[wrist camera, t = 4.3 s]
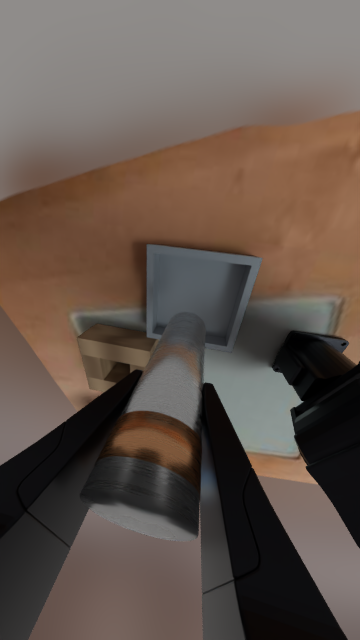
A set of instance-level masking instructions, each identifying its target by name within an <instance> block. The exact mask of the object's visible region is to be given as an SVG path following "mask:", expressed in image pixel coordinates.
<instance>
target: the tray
mask: <svg viewBox="0 0 360 640" xmlns="http://www.w3.org/2000/svg"><path fill="white" fill-rule="evenodd" d="M262 259H263V258H260V257H256V256H249V255H241V254H232V253H224V252H216V251H207V250H199V249H191V248H183V247H174V246H166V245H158V244H147V337H148V338H154V339H159V340H160V338H161V336H162V334H163V332H164V330H165V328H166V327H167V325H168V323H169V321H170V319H171V318H172V317H173V316H174V315H175V314H177V313H180V312H190V313H194V314H196V315H197V316H199V317H200V318H201V319H202V320H203V322H204V324H205V328H206V333H205V348H209V349H214V350H220V351H225V352H231V353H232V349H233V346H234V343H235V340H236V337H237V334H238V331H239V328H240V325H241V322H242V319H243V316H244V313H245V310H246V307H247V304H248V301H249V298H250V295H251V292H252V289H253V286H254V283H255V280H256V277H257V274H258V271H259V268H260V265H261V262H262Z"/></svg>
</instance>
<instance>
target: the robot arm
mask: <svg viewBox="0 0 360 640" xmlns="http://www.w3.org/2000/svg"><path fill="white" fill-rule="evenodd" d="M295 334H296V335H295ZM293 335H295V336H293ZM342 343H343V344H342ZM348 344H349V342H348V341H346V340H345V339H340V338H334V337H328V336H322V335H316V334H310V333H304V332H297V331H292V332H290V333H289V335H288V337H287V339H286V341H285V343H284V345H283V346H282V347H281V349H280V351H279V353H278V355H277V357H276V359H275V362H274V364H273V366H272V368H273V370H274V371H275V372H280V373H283V375H284V377H285V379H286V380H287V382H288V384H289V385H292V386H293V388H294V389H295V391H296V393H297V394H298V396H299V398H300V399H301V401H304V402H303V403H301V404H300V405H298V406H297V407H294V408H292V409H291V410H290V411H291V416H292V421H293V426H294V431H295V435H294V438H295V441H296V444H297V446H298V449H299V451H300V454H301V456H302V457H303V459H304V461H305V463H306V464H307V465H308V466H306V469H307V471H308V472H309V473H310V475H311V476H312V477H313V478H314V479H315V480H316V482H317V483H318V484H319V485H320V486H321V488H322V489H323V491H324V492H325V493H326V495H327V496H328V498H329V499H330V500H331V502H332V503H333V505H334V507H335V508H336V510H337V512H338V513H339V515H340V517H341V518H342V520H343V522H344V523H345V525H346V527H347V529H348V530H349V532H350V534H351V536H352V537H353V539H354V541H355V542H356V544H357V546H358V547H359V548H360V361H359V364H358V365H356V364H355V363H353V362H352V361H351V360H350V359H349V358H347V357H346V356H345V355H344V354H342V353H343V351H344V350H345V349H346V347H347V346H348ZM142 373H143V370H139V369H135V370H134V371H132V372H131V373H130V374H128V375H127V376H125V377H124V378H123V379H121V380H120V381H119V382H117V383H116V384H115V385H113V386H112V387H111V388H109V389H108V390H107V391H105V392H104V393H103V394H101V395H100V396H98V397H97V398H96V399H94V400H93V401H92V402H90V403H89V404H88V405H86V406H85V407H84V408H82V409H81V410H80V411H78V412H77V413H76V414H74V415H73V416H71V417H70V418H69V419H67V421H66V422H63V423H62V424H61V425H59V426H58V427H57V428H55V429H54V430H53V431H51V432H50V433H48V434H47V435H46V436H44V437H43V438H41V439H40V440H38V441H37V442H36V443H34V444H33V445H31V446H30V447H28V448H27V449H25V450H24V451H22V452H21V453H19V454H18V455H16V456H14V457H13V458H11V459H10V460H8V461H7V462H5V463H4V464H2V465H1V466H0V640H28V639H29V636H30V634H31V632H32V630H33V628H34V626H35V624H36V621H37V619H38V617H39V615H40V613H41V611H42V609H43V606H44V604H45V602H46V600H47V598H48V596H49V594H50V591H51V589H52V587H53V585H54V583H55V580H56V579H57V576H58V574H59V572H60V570H61V568H62V566H63V564H64V561H65V559H66V557H67V555H68V553H69V550H70V547H71V546H72V544H73V542H74V540H75V537H76V535H77V533H78V531H79V529H80V527H81V525H82V522H83V520H84V518H85V516H86V514H87V512H88V509H89V508H88V507H87V506H85V505H84V504H83V502H82V501H81V499H80V493H81V491H82V489H83V487H84V485H85V483H86V481H87V479H88V477H89V475H90V473H91V471H92V470H93V468H94V465H95V462H96V460H97V458H98V456H99V455H100V453H101V451H102V449H103V447H104V445H105V443H106V441H107V439H108V437H109V435H110V433H111V432H112V430H113V428H114V426H115V424H116V422H117V420H118V419H119V417H120V415H121V413H122V412H123V410H124V408H125V406H126V404H127V402H128V400H129V398H130V396H131V394H132V392H133V390H134V388H135V386H136V385H137V383H138V381H139V379H140V377H141V375H142ZM251 467H252V465H251V463H250V461H249V459H248V457H247V455H246V453H245V450H244V448H243V446H242V444H241V442H240V440H239V438H238V436H237V434H236V432H235V430H234V428H233V425H232V423H231V421H230V419H229V417H228V415H227V413H226V411H225V409H224V407H223V405H222V403H221V400H220V398H219V396H218V394H217V392H216V390H215V388H214V386H213V384H211V383H204V389H203V418H202V464H201V495H200V514H201V515H200V518H201V519H200V520H201V563H202V564H201V566H202V567H201V568H202V593H203V594H202V613H203V614H202V616H203V640H348V639H347V638H346V636H345V634H344V633H343V631H342V630H341V628H340V626H339V624H338V623H337V621H336V619H335V617H334V616H333V614H332V612H331V610H330V609H329V607H328V605H327V603H326V602H325V600H324V598H323V596H322V595H321V593H320V591H319V589H318V587H317V586H316V584H315V582H314V580H313V579H312V577H311V575H310V573H309V572H308V570H307V568H306V566H305V565H304V563H303V561H302V559H301V557H300V556H299V554H298V552H297V550H296V549H295V547H294V545H293V543H292V542H291V540H290V538H289V536H288V534H287V533H286V531H285V529H284V527H283V526H282V524H281V522H280V520H279V518H278V516H277V515H276V513H275V511H274V509H273V507H272V505H271V504H270V502H269V499H268V498H267V496H266V494H265V492H264V490H263V488H262V486H261V484H260V482H259V480H258V477H257V475H256V473H255V471H254V469H253V468H251Z"/></svg>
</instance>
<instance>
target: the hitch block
mask: <svg viewBox="0 0 360 640" xmlns="http://www.w3.org/2000/svg"><path fill="white" fill-rule="evenodd" d="M77 341H78V345H79V349H80V352H81V356H82V360H83V364H84V368H85V372H86V376H87V380H88V384H89V388H90V389H92V390H97V391H101V392H105V391H107V390H108V389H109V388H111V387H112V386H113V385H115V384H116V383H117V382H119V381H120V380H121V379H123V378H124V377H125V376H127V375H128V374H130V373H131V372H132V371H134V370H135V369H139V370H143V371H144V369H145V367H146V365H147V363H148V361H149V359H150V357H151V356H152V354H153V352H154V350H155V348H156V346H157V344H158V342H159V339H154V338H148V337H147V333H146V332H140V331H135V330H129V329H124V328H118V327H113V326H107V325H101V324H95V325H94V326H92V327H91V328H90V329H88V330H87V331H85V332H84V333H83V334H81V335H80V336H78V337H77ZM119 362H122V363H119ZM124 363H127V364H124ZM129 364H130V365H129Z"/></svg>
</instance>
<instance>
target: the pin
mask: <svg viewBox="0 0 360 640" xmlns="http://www.w3.org/2000/svg"><path fill="white" fill-rule="evenodd" d="M205 333H206V328H205V324H204V322H203V320H202V319H201V318H200V317H199V316H197V315H196V314H194V313H190V312H180V313H177V314H175V315H174V316H173V317H172V318H171V319H170V321H169V323H168V325H167V327H166V328H165V330H164V332H163V334H162V336H161V338H160V340H159V342H158V344H157V346H156V348H155V350H154V352H153V354H152V356H151V357H150V359H149V361H148V363H147V365H146V367H145V369H144V371H143V373H142V375H141V377H140V379H139V381H138V383H137V385H136V386H135V388H134V390H133V392H132V394H131V396H130V398H129V400H128V402H127V404H126V406H125V408H124V410H123V412H122V413H121V415H120V417H119V419H118V420H117V422H116V424H115V426H114V428H113V430H112V432H111V433H110V435H109V437H108V439H107V441H106V443H105V445H104V447H103V449H102V451H101V453H100V455H99V456H98V458H97V460H96V462H95V465H94V468H93V470H92V471H91V473H90V475H89V477H88V479H87V481H86V483H85V485H84V487H83V489H82V491H81V493H80V499H81V501H82V502H83V504H84V505H85V506H87V507H88V508H89V509H90V510H92V511H93V512H95V513H96V514H98V515H99V516H101V517H103V518H105V519H107V520H109V521H111V522H113V523H115V524H117V525H119V526H122V527H124V528H127V529H129V530H132V531H135V532H138V533H142V534H144V535H148V536H152V537H156V538H161V539H165V540H172V541H191V540H194V539H196V538H197V537H198V531H199V529H198V528H199V502H200V495H201V464H202V418H203V389H204V361H205Z"/></svg>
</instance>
